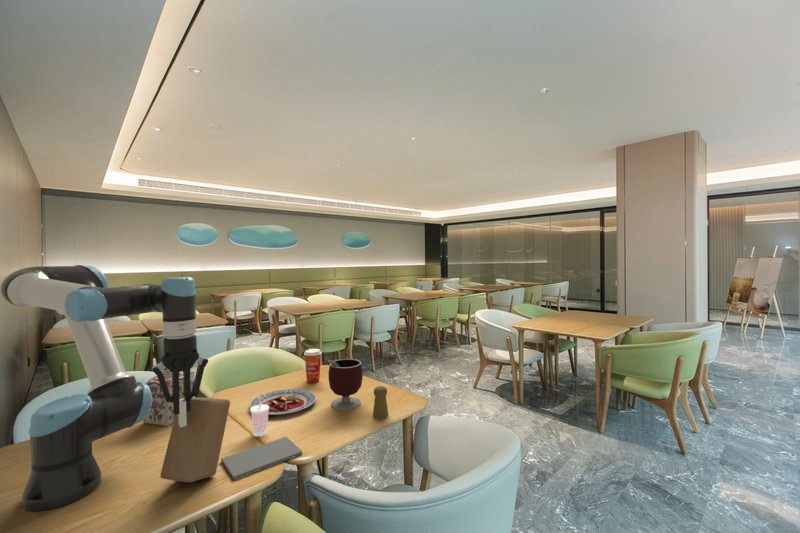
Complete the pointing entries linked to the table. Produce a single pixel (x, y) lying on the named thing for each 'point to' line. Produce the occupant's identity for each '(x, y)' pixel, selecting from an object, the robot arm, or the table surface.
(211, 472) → the block
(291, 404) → the ceramic plate
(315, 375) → the coffee cup
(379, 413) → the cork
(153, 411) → the decorative jar
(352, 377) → the mate gourd
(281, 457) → the mat
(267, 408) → the beverage cup
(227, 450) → the table surface
